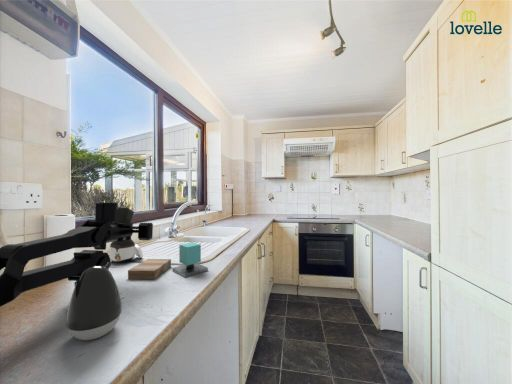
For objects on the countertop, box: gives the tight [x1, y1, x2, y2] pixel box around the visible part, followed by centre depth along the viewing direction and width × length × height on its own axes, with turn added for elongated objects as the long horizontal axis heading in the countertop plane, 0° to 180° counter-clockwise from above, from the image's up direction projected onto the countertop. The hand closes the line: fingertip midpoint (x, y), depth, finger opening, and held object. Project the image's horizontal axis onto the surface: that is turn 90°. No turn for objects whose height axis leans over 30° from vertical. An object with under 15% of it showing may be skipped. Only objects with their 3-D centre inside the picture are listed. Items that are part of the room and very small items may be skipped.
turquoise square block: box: [178, 241, 202, 265], centre depth 91 cm, size 6×6×7 cm
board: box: [127, 258, 172, 280], centre depth 90 cm, size 14×10×3 cm
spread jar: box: [109, 238, 144, 264], centre depth 106 cm, size 12×11×12 cm
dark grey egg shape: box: [65, 262, 123, 341], centre depth 52 cm, size 10×10×15 cm
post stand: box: [171, 263, 209, 278], centre depth 91 cm, size 10×10×7 cm
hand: (141, 228), depth 93 cm, fingers open, 9 cm apart
